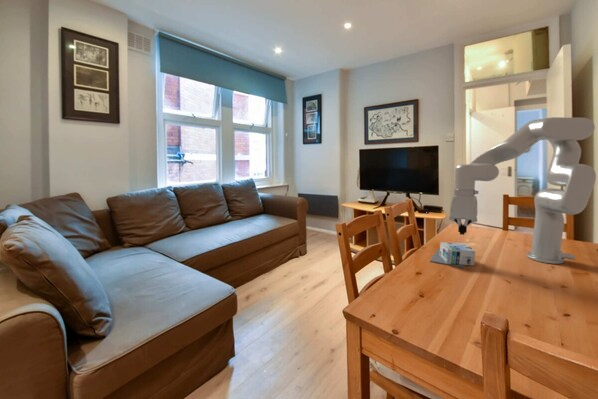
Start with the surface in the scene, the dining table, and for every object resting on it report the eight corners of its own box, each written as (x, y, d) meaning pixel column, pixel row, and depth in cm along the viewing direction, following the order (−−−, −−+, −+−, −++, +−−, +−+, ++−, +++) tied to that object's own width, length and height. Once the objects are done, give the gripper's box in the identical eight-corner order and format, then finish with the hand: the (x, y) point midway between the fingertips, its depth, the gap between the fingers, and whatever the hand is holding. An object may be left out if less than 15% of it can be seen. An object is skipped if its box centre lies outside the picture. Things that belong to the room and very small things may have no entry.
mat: (468, 254, 129) (468, 253, 129) (463, 268, 113) (463, 267, 113) (438, 249, 137) (438, 248, 137) (429, 261, 121) (429, 260, 121)
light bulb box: (476, 250, 113) (447, 249, 115) (474, 266, 114) (446, 264, 116) (465, 242, 124) (440, 241, 126) (464, 257, 125) (438, 255, 127)
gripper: (485, 192, 117) (483, 234, 120) (446, 191, 126) (444, 230, 129) (484, 195, 111) (481, 238, 114) (443, 193, 120) (442, 234, 123)
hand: (462, 233), depth 121 cm, fingers closed
